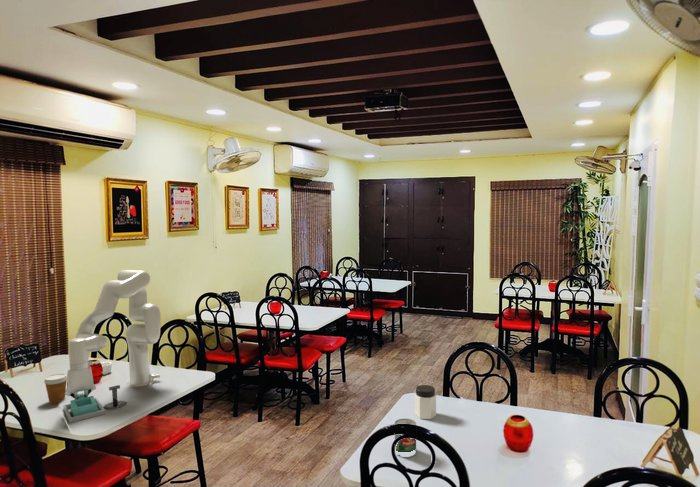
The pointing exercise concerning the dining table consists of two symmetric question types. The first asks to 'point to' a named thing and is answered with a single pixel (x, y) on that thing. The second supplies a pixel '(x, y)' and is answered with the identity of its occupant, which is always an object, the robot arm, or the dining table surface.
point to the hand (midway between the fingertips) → (81, 405)
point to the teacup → (106, 367)
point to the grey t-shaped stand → (115, 400)
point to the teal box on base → (83, 405)
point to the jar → (425, 402)
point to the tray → (84, 416)
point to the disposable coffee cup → (56, 387)
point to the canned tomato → (406, 443)
